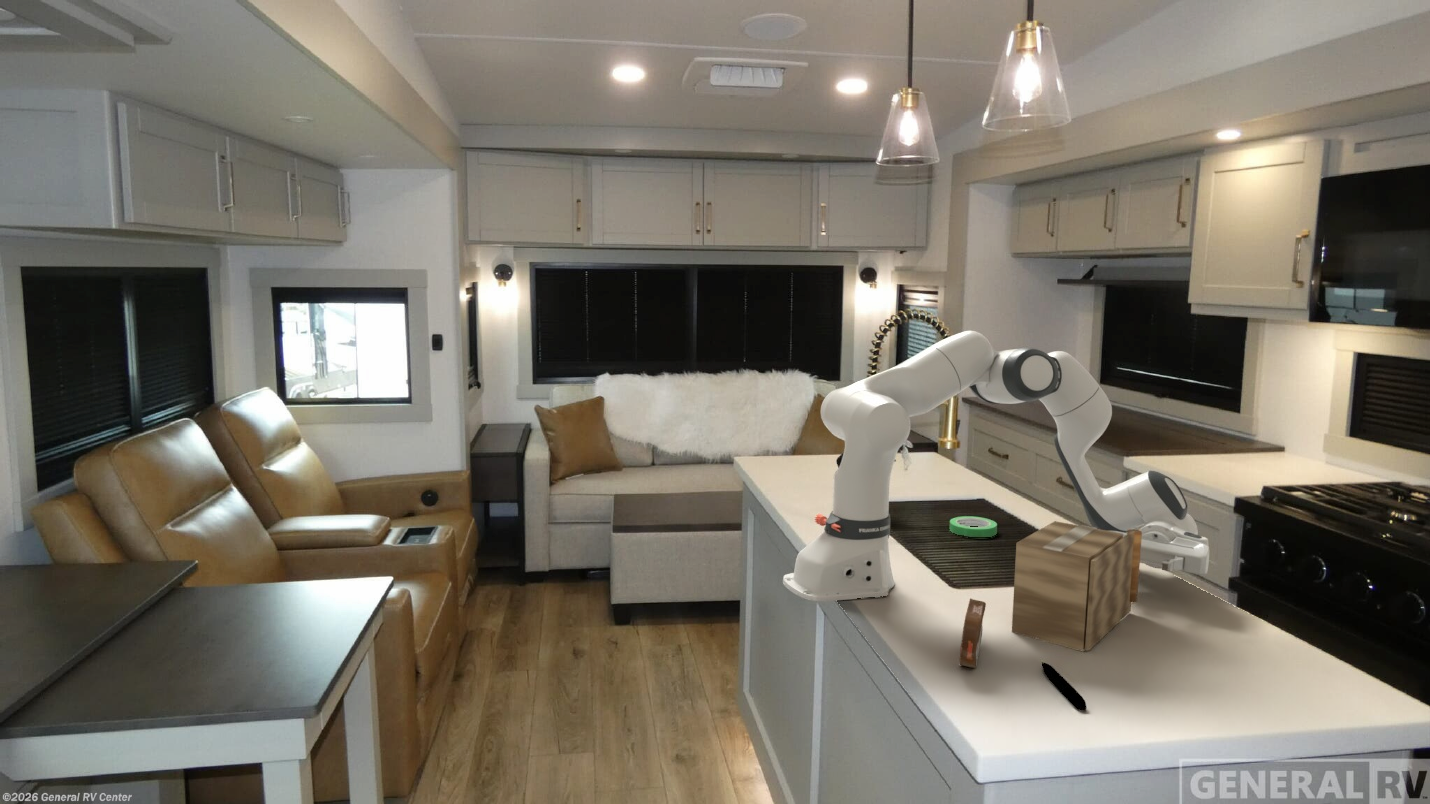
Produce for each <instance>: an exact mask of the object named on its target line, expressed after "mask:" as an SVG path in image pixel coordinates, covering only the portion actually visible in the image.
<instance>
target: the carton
mask: <svg viewBox="0 0 1430 804" xmlns="http://www.w3.org/2000/svg"><path fill="white" fill-rule="evenodd" d="M1122 538H1123V534H1122V533H1117V532H1111V531H1106V530H1100V529H1097V528H1095V527H1092V526H1091V525H1090V526H1089V525H1084V524H1072V523H1067V522H1061V521H1057V520H1055V521H1053V522H1051V523H1049V524H1048V525H1045V526H1044V527H1042V528H1040V529H1039V530H1037V531H1034V532H1033V533H1032V534H1029V535H1028V536H1026V537H1024V538H1022V539H1020V540H1019V541H1017V542H1016V547H1015V548H1016V549H1015V560H1014V561H1015V563H1014V566H1015V567H1014V581H1013V583H1014V584H1013V586H1014V587H1013V598H1012V599H1013V600H1012V602H1013V604H1012V616H1011V617H1012V621H1011V623H1012V624H1011V633H1015V634H1018V635H1022V636H1025V637H1029V638H1032V639H1036V640H1040V641H1044V642H1047V643H1050V644H1054V645H1059V646H1062V647H1066V648H1069V649H1073V650H1076V651H1081V652H1084V651H1086V650H1085V642H1086V627H1087V612H1088V596H1089V581H1090V566H1091V560H1092V559H1094V558H1095V557H1096V556H1098V555H1099V554H1101V553H1102V552H1103V551H1105V550H1106V549H1108V548H1109V547H1110V546H1112V545H1113V544H1115V543H1116V542H1117V541H1119V540H1120V539H1122Z"/></svg>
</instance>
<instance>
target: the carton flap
mask: <svg viewBox="0 0 1430 804" xmlns="http://www.w3.org/2000/svg"><path fill="white" fill-rule="evenodd" d="M1126 533H1127V535H1126V536H1124V537H1123V538H1122V539H1120V540H1119V541H1117V542H1116V543H1115V544H1113V545H1112V546H1110V547H1109V548H1108V549H1106V550H1105V551H1103V552H1102V553H1101V554H1099V555H1098V556H1096V557H1095V558H1094V559H1092V560H1091V566H1090V581H1089V596H1088V612H1087V627H1086V642H1085V650H1084V651H1090V650H1091V649H1092V648H1093V647H1094V646H1095V645H1097V644H1098V643H1099V642H1100V641H1101V640H1102V639H1103V638H1104V637H1105V636H1106V635H1108V633H1109V632H1110V631H1111V630H1112V629H1113V628H1115V627H1116V625H1118V624H1119V623H1120V622H1121V621H1122V620H1123V619H1124V618H1125V617H1126V616H1127V615H1129V614H1130V612H1131V611H1132V603H1136V602H1138V592H1139V591H1138V590H1139V578H1140V576H1139V575H1140V566H1141V565H1140V564H1141V563H1140V553H1141V539H1142V531H1139V529H1135V528H1134V529H1129V530H1127V532H1126Z"/></svg>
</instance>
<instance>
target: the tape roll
mask: <svg viewBox="0 0 1430 804" xmlns="http://www.w3.org/2000/svg"><path fill="white" fill-rule="evenodd" d="M970 526H978V527H970ZM949 529H950V530H949V532H950V531H951V532H952V533H951V532H950V533H951V534H953V533H955V534H957V535H956V536H958V535H964V536H969V537H991V538H993V537H992V536H994V535H996V534H997V533H998V523H997V522H996V521H995V520H993V519H992V520H991V519H989V518H986V517H982V516H981V517H980V516H972V515H971V516H969V515H968V516H967V515H964V516H957V517H954V518H950V520H949ZM955 534H954V535H955ZM996 536H997V535H996ZM994 537H995V536H994Z"/></svg>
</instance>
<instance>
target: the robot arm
mask: <svg viewBox="0 0 1430 804" xmlns="http://www.w3.org/2000/svg"><path fill="white" fill-rule="evenodd" d="M967 388H969V389H970V390H971V392H972V393H973V394H974V395H975V396H976V397H977V398H978V399H979V400H981V401H983V402H985V403H988V404H992V405H999V404H1003V405H1004V404H1006V405H1007V404H1010V405H1014V404H1021V403H1025V402H1035V401H1037V400H1039V401H1040V402H1041V403H1042V404H1043V405H1044V406H1045V408H1046V410H1047V411H1048V413H1049V414H1050V415H1051V417H1052V419H1053V420H1054V421H1055V424H1056V429H1057V432H1056V434H1055V435H1054V439H1053V441H1054V446H1055V451H1056V453H1057V455H1058V457H1059V459H1060V463H1061V465H1062V466H1063V468H1064V470H1065V472H1066V474H1067V476H1068V478H1069V480H1070V482H1071V484H1072V485H1073V489H1074V490H1075V492H1076V494H1077V495H1078V498H1079V500H1080V502H1081V505H1082V507H1083V509H1084V513H1085V514H1086V515H1085V516H1086V517H1087V520H1088V521H1089V525H1090V527H1095V528H1097V529H1100V530H1106V531H1111V532H1117V533H1122V534H1123V537H1124V536H1126V535H1127V530H1129V529H1134V530H1135V529H1137V528H1139V527H1141V528H1140V529H1138V530H1139V531H1142V539H1141V553H1140V564H1145V565H1146V566H1148V567H1151V568H1153V569H1159V570H1162V571H1166V572H1172V571H1179V572H1183V573H1189V574H1193V575H1197V576H1198V575H1200V576H1205V575H1207V574H1208V569H1209V561H1210V547H1209V546H1210V545H1209V538H1207V537H1205V536H1201V535H1199V534H1198V532H1199V531H1198V525H1197V523H1196V521H1195V519H1194V518H1193V517H1192V515H1190V514H1189V513H1188V503H1187V500H1186V498H1185V495H1184V494H1183V492H1182V490H1181V488H1180V487H1179V485H1178V484H1177V483H1176V482H1175V480H1173V479H1172V478H1171V477H1169V476H1167V475H1165V474H1163V473H1161V472H1160V471H1155V470H1148V471H1146V472H1143V473H1141V474H1138V475H1136V476H1134V477H1132V478H1129V479H1128V480H1125V481H1123V482H1120V483H1117V484H1115V485H1113V486H1111V487H1108V488H1104V487H1101V486H1100V485H1099V484H1098V482H1097V481H1098V480H1097V479H1096V477H1095V476H1094V474H1093V472H1092V470H1091V468H1090V465H1089V463H1088V462H1087V460H1086V457H1085V454H1086V453H1087V452H1088V450H1089V449H1090V448H1091V447H1092V446H1093V445H1094V443H1096V441H1097V440H1099V438H1100V437H1101V436H1103V434H1104V433H1105V431H1106V430H1107V428H1108V426H1109V424H1110V421H1111V419H1112V416H1113V407H1112V403H1111V401H1110V398H1108V395H1107V394H1106V393H1105V391H1104V390H1103V388H1102V387H1101V386H1100V385H1099V383H1098V381H1096V379H1095V378H1094V377H1093V375H1092V374H1091V373H1090V371H1088V370H1087V369H1086V368H1085V367H1084V365H1082V364H1081V363H1080V361H1078V360H1077V359H1076V358H1075V357H1074V356H1072V355H1071V354H1070V353H1068V352H1066V351H1061V350H1056V351H1051V352H1048V353H1047V352H1044V351H1043V350H1040V349H1037V348H1034V347H1033V348H1032V347H1021V348H1014V349H1012V348H1011V349H1005V350H1000V351H999V350H998V351H997V350H996V349H995V348H993V347H992V344H991V343H990V341H989V339H988V338H987V337H985V336H984V334H982V333H980V332H978V331H975V330H964V331H962V332H958V333H956V334H953V335H949V336H947V337H946V338H944V339H941V340H940V341H937V342H935V343H934V344H932V345H930V346H928V347H926V348H925V349H923V350H921V351H920V352H918V353H916V354H914V355H912V356H911V357H909V358H908V359H906V360H904V361H902V362H900V363H898V364H897V365H896V366H893V367H891V368H888V369H886V370H884V371H880V372H879V373H876V374H873V375H870V376H868V377H866V378H863V379H861V380H858V381H857V382H854V383H852V384H850V385H847V386H844V387H840V388H836V389H834V390H832V391H830V392H829V393H828V394H827V395H826V396H825V397H824V398H823V401H822V403H821V405H820V418H821V421H822V422H823V425H824V426H825V428H827V430H828V431H829V432H830V433H831V434H832V435H833V436H834V437H836V438H837V439H840V440H842V441H844V450H843V453H844V454H843V457H842V461H841V464H840V466H839V468H837V469H836V470H835V471H834V474H833V481H832V489H833V490H832V511H831V512H830V514H829V516H828V518H827V516H825V515H823V514H820V513H818V514H816V516H815V517H814V522H815V523H816V524H817V525H819V526H821V527H824V531H822V532H821V533H820V534H819V535H818V536H817V537H816V538H815V539H814V540H812V541H811V542H810V543H809V544H807V545H806V546H805V547H804V548H802V549H801V550H800V551H799V552H798V554H797V555H796V559H795V564H794V570H793V572H791V573H786V574H784V575H783V578H782V583H783V586H784V587H785V588H786V589H788V591H790V592H791V593H793V594H794V595H796V596H798V597H800V598H802V599H805V600H808V601H812V602H831V601H843V600H844V601H846V600H858V599H857V598H861V599H865V598H864V597H875V598H884V597H883V596H886V597H888V596H889V594H888V592H889V591H890V590H891V589H893V588H894V587H895V584H896V582H895V579H894V576H893V570H892V566H891V558H890V549H889V547H890V546H889V545H890V544H889V538H890V535H891V514H890V513H889V508H890V507H889V506H890V505H889V504H890V503H889V502H890V484H891V475H892V471H893V468H894V467H893V466H894V463H895V462H894V461H895V460H896V457H897V454H898V451H899V449H900V448H901V447H902V446H903V445H904V444H905V443H906V441H907V440H908V438H909V435H910V434H911V433H910V432H911V429H912V428H911V418H912V417H916V416H921V415H924V414H927V413H929V412H930V411H932V410H934V409H935V408H937V407H939V406H940V405H942V404H943V403H945V402H947V401H948V400H950V399H952V398H953V397H955V396H956V395H958V394H960V393H961V392H963V391H965V390H966V389H967ZM890 588H891V589H890ZM889 589H890V590H889ZM887 595H888V596H887ZM880 596H882V597H880ZM862 597H863V598H862Z"/></svg>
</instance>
